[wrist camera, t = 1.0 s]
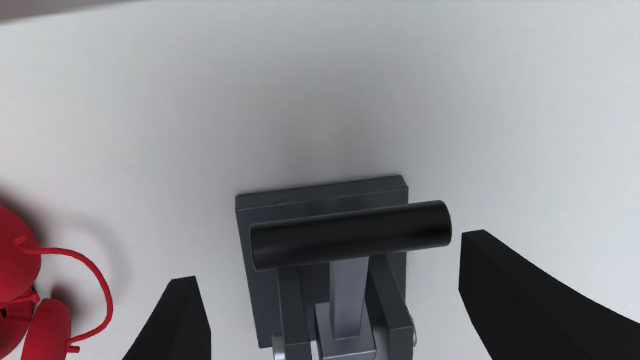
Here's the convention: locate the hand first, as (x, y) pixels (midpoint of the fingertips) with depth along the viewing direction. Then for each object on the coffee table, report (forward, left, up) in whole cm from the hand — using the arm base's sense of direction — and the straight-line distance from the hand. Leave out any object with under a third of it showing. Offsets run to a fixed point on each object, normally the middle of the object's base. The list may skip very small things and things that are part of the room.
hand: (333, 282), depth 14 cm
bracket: (-8, -1, -10) cm, 13 cm away
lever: (-4, -1, -5) cm, 6 cm away
